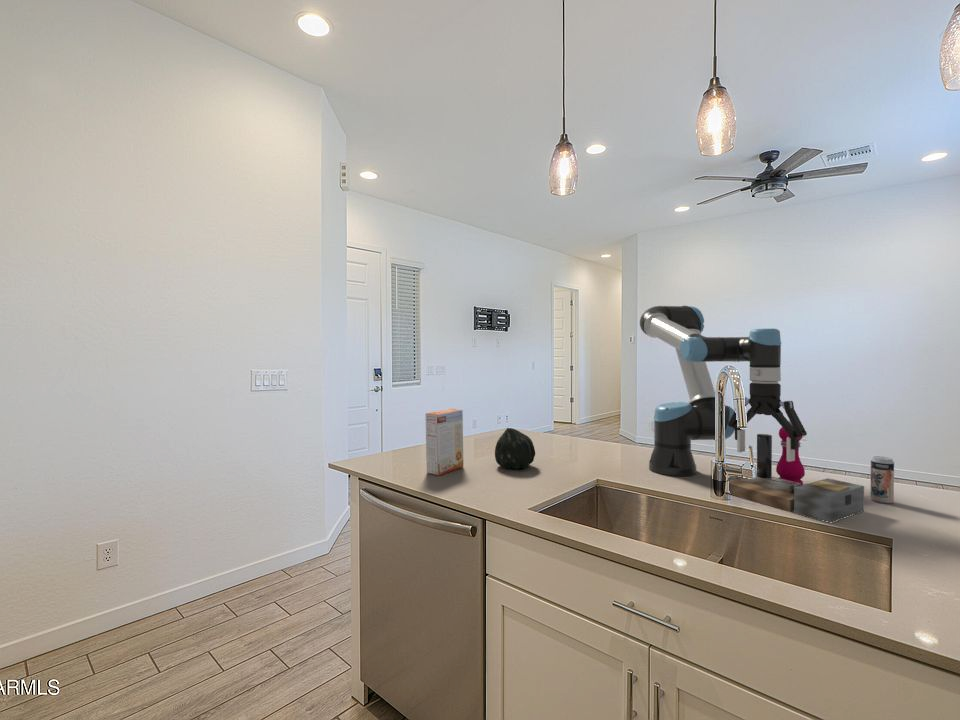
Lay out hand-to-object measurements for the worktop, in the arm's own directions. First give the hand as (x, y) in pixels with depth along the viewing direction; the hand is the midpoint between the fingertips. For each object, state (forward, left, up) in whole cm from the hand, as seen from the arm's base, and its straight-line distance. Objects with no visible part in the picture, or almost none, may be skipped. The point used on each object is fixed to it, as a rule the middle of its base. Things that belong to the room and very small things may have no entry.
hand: (764, 456), depth 126 cm
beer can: (+19, +22, -11) cm, 31 cm away
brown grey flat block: (+6, 0, -11) cm, 13 cm away
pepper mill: (-1, +16, -11) cm, 20 cm away
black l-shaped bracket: (+3, 0, -8) cm, 8 cm away
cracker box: (-69, -70, -11) cm, 99 cm away
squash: (-61, -46, -11) cm, 77 cm away
